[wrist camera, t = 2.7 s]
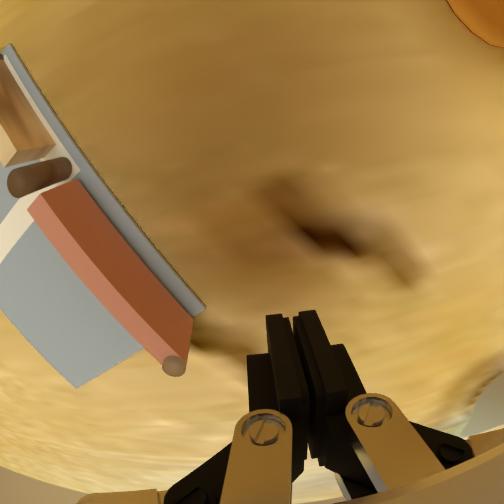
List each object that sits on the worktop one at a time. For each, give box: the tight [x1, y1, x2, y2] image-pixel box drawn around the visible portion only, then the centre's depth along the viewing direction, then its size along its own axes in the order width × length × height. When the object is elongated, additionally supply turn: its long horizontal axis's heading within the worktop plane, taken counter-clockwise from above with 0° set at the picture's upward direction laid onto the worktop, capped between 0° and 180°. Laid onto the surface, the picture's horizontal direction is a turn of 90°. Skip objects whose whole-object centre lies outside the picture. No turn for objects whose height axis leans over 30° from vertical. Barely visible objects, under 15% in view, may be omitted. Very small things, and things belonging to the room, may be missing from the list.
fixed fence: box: [0, 54, 72, 198], centre depth 12 cm, size 11×1×5 cm, turn 35°
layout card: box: [0, 43, 206, 389], centre depth 17 cm, size 22×14×1 cm, turn 35°
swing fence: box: [27, 179, 194, 377], centre depth 16 cm, size 11×1×4 cm, turn 35°
